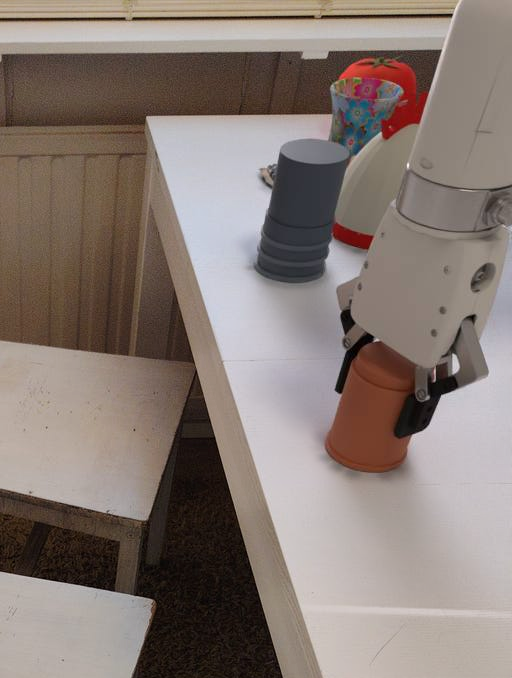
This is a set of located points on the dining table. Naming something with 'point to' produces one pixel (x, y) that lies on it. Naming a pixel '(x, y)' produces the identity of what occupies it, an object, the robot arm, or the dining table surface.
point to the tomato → (384, 75)
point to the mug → (361, 110)
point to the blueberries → (269, 173)
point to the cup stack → (301, 210)
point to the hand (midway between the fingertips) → (378, 409)
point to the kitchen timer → (377, 175)
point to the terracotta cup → (372, 410)
